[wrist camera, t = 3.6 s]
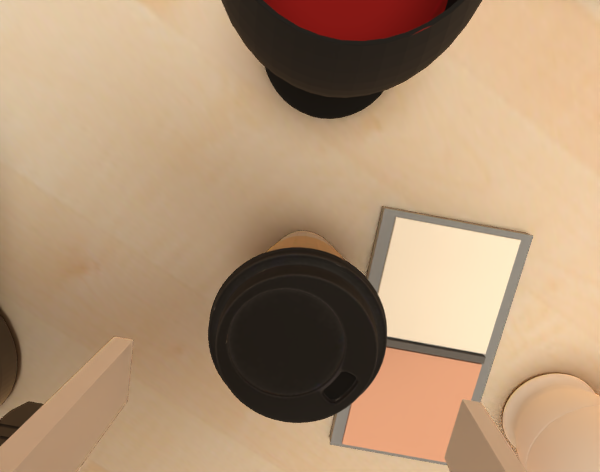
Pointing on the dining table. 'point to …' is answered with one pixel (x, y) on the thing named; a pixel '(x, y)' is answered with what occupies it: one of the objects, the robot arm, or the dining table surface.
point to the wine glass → (345, 46)
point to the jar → (554, 424)
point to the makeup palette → (432, 329)
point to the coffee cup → (297, 331)
